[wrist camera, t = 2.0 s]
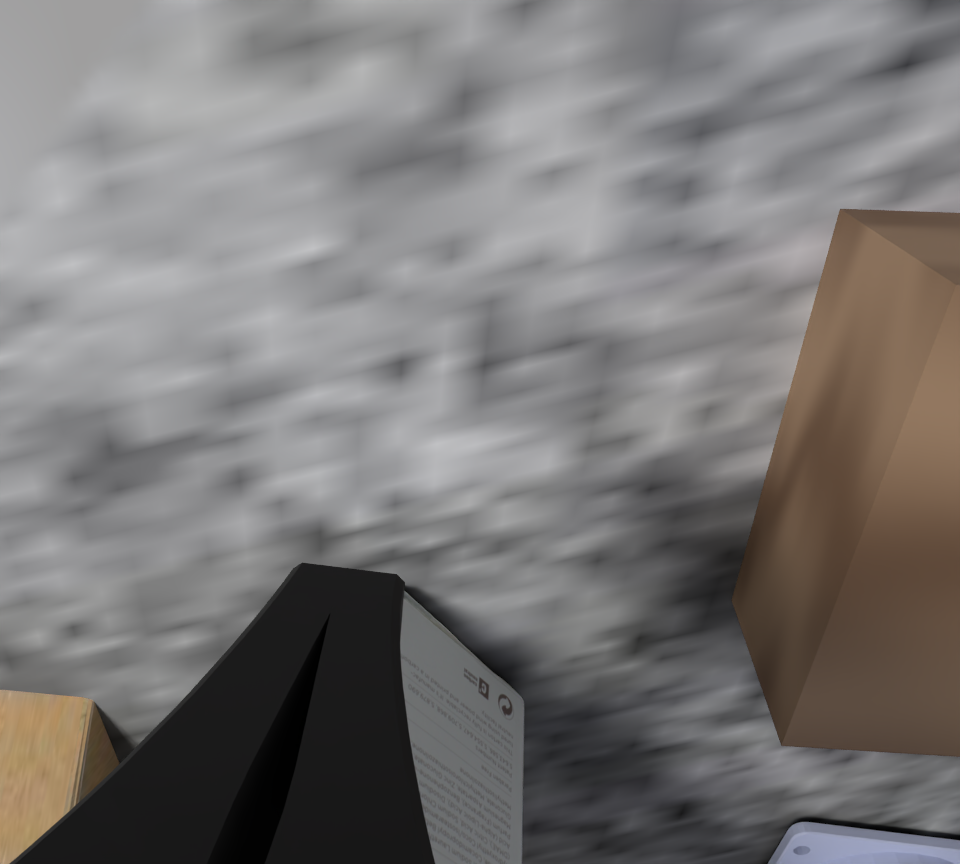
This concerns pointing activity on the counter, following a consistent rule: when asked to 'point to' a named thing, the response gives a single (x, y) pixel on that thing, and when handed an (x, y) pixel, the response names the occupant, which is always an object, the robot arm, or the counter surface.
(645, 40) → the counter surface
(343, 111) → the counter surface
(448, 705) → the skincare box
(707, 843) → the counter surface
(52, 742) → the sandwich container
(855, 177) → the counter surface
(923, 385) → the walnut block
